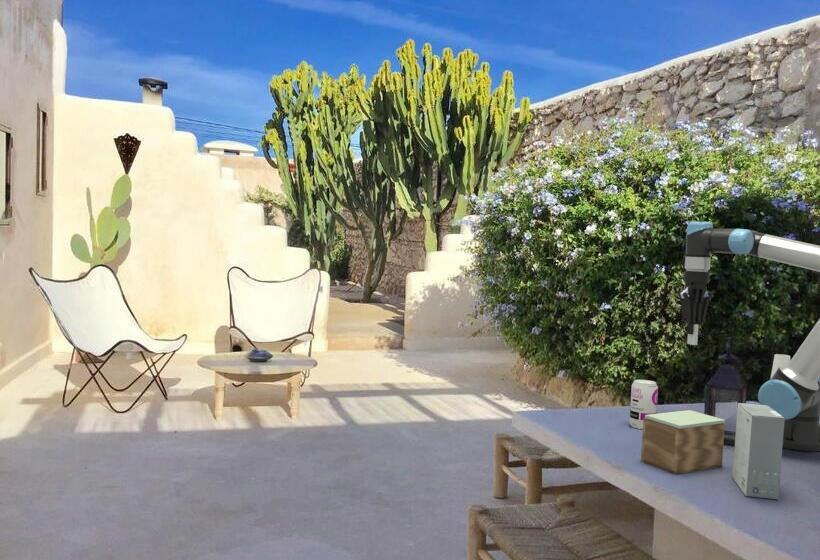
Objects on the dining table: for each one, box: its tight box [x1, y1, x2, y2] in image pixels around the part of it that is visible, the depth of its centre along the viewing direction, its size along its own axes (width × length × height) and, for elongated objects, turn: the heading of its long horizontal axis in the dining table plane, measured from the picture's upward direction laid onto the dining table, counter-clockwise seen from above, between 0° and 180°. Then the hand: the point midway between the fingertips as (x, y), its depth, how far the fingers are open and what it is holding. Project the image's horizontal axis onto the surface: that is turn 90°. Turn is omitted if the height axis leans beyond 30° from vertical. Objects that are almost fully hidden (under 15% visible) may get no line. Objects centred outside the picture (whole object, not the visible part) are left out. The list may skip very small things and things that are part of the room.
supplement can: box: [629, 379, 659, 431], centre depth 244 cm, size 8×8×15 cm
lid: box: [645, 409, 726, 429], centre depth 203 cm, size 18×12×1 cm
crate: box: [640, 418, 726, 476], centre depth 204 cm, size 18×12×12 cm
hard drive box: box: [732, 402, 785, 500], centre depth 186 cm, size 16×8×20 cm, turn 168°
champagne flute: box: [769, 353, 791, 380], centre depth 254 cm, size 7×7×24 cm
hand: (692, 344), depth 238 cm, fingers closed
